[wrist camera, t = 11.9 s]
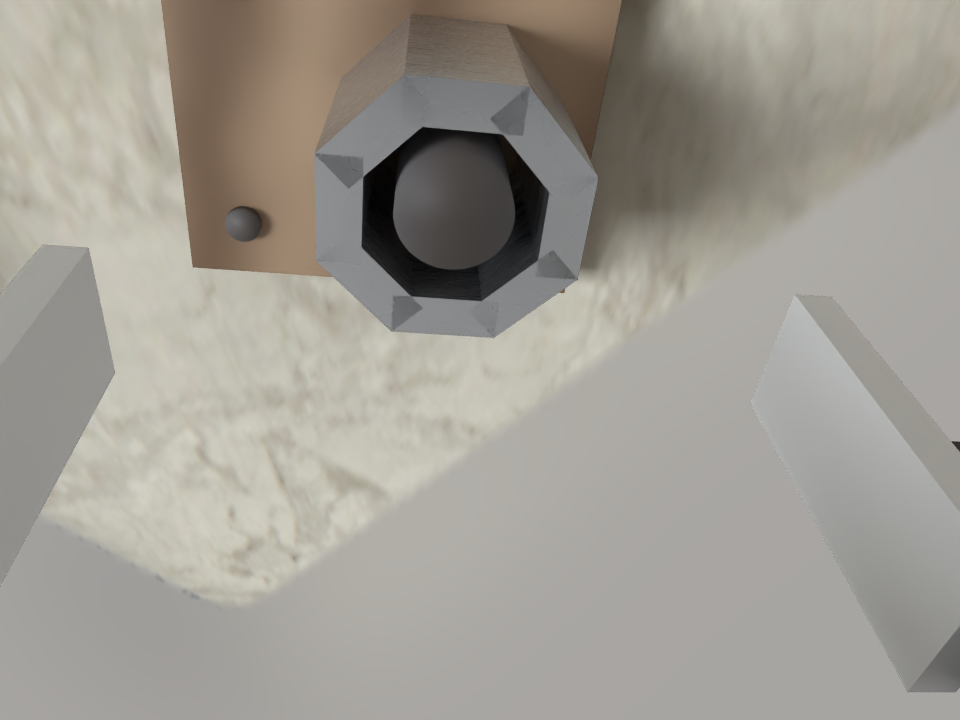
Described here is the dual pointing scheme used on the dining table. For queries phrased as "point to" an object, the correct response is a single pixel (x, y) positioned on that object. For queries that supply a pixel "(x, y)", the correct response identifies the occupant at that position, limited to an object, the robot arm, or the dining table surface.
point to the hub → (457, 106)
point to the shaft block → (305, 107)
